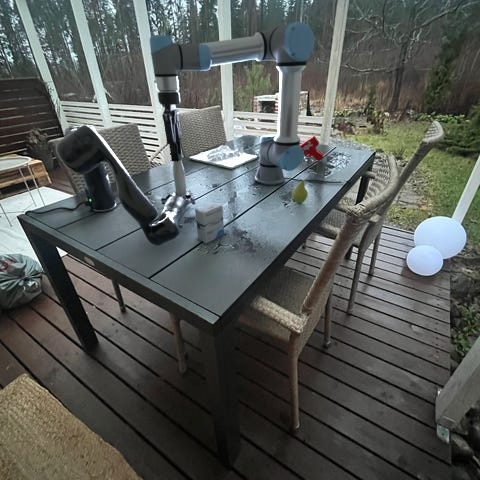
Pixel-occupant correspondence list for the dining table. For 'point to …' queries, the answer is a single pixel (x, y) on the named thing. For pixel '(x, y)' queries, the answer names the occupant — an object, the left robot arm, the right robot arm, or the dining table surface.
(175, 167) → the bottle
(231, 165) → the relief map
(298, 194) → the fruit
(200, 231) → the ink box
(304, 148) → the toy gun
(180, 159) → the cap
